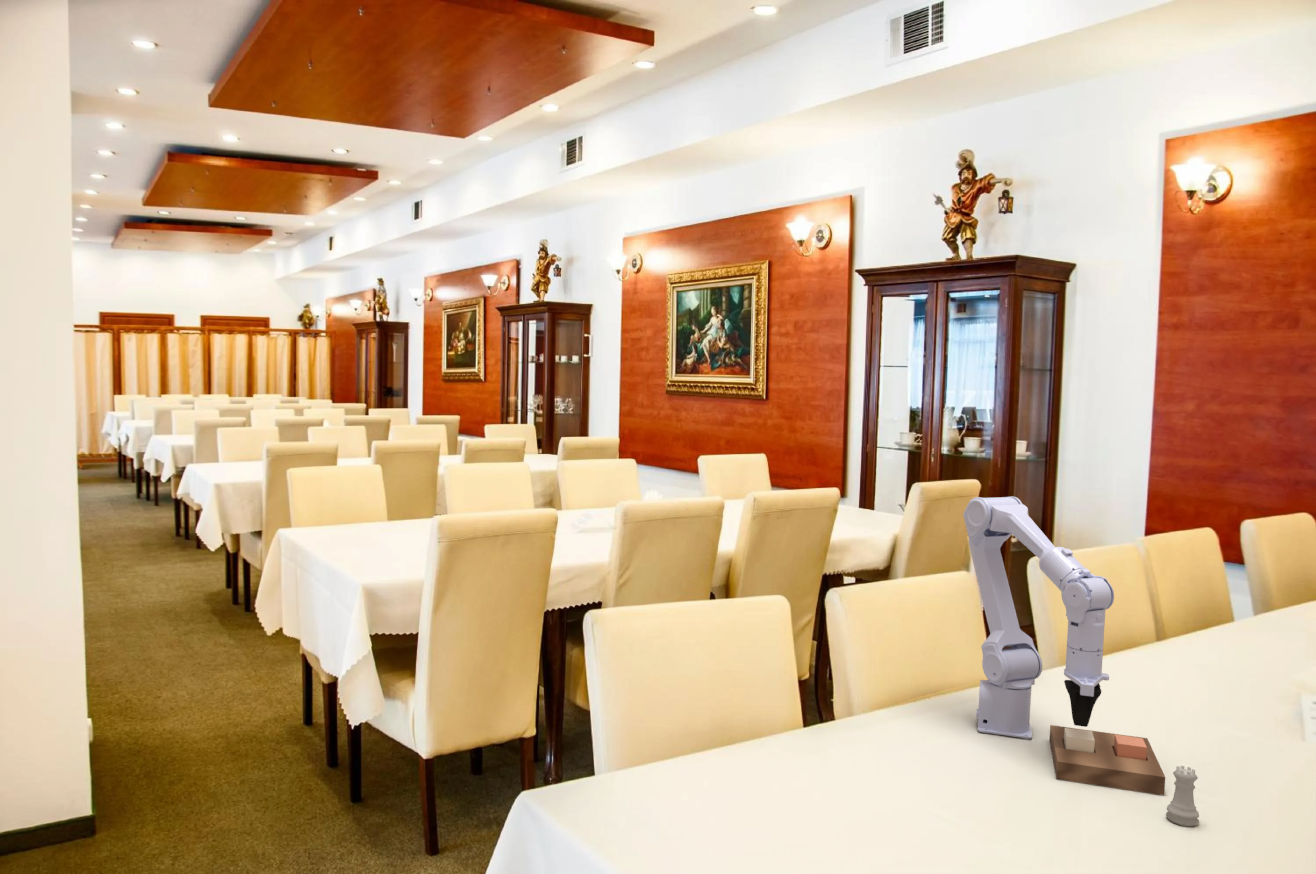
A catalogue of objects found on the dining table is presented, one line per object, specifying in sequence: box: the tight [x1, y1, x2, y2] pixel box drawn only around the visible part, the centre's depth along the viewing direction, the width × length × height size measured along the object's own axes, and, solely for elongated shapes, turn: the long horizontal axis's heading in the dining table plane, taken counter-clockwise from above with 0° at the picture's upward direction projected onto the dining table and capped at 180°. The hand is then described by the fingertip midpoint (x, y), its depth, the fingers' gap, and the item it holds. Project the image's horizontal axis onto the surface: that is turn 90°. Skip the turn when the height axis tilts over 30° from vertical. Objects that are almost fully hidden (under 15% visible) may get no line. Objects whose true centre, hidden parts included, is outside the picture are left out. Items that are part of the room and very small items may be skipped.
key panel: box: [1049, 724, 1166, 796], centre depth 165 cm, size 16×18×3 cm
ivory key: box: [1064, 727, 1095, 753], centre depth 166 cm, size 4×4×4 cm
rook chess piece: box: [1165, 765, 1200, 828], centre depth 145 cm, size 4×4×8 cm
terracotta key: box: [1114, 734, 1147, 760], centre depth 163 cm, size 4×4×4 cm
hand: (1080, 724), depth 165 cm, fingers closed
